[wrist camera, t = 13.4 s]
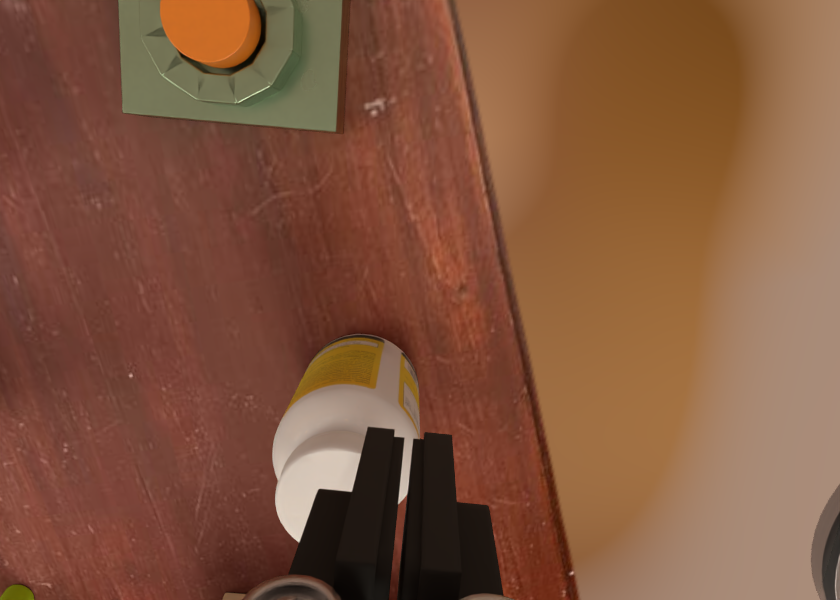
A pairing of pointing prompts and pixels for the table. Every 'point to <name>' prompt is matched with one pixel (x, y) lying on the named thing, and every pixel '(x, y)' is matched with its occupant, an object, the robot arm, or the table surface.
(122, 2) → the control block
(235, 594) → the panel
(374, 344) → the pill bottle
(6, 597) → the mushroom
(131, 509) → the table surface
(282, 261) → the table surface
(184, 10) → the button
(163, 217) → the table surface
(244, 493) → the table surface
